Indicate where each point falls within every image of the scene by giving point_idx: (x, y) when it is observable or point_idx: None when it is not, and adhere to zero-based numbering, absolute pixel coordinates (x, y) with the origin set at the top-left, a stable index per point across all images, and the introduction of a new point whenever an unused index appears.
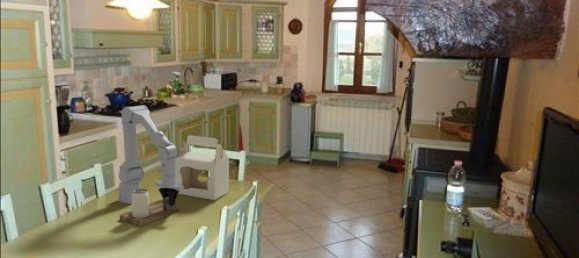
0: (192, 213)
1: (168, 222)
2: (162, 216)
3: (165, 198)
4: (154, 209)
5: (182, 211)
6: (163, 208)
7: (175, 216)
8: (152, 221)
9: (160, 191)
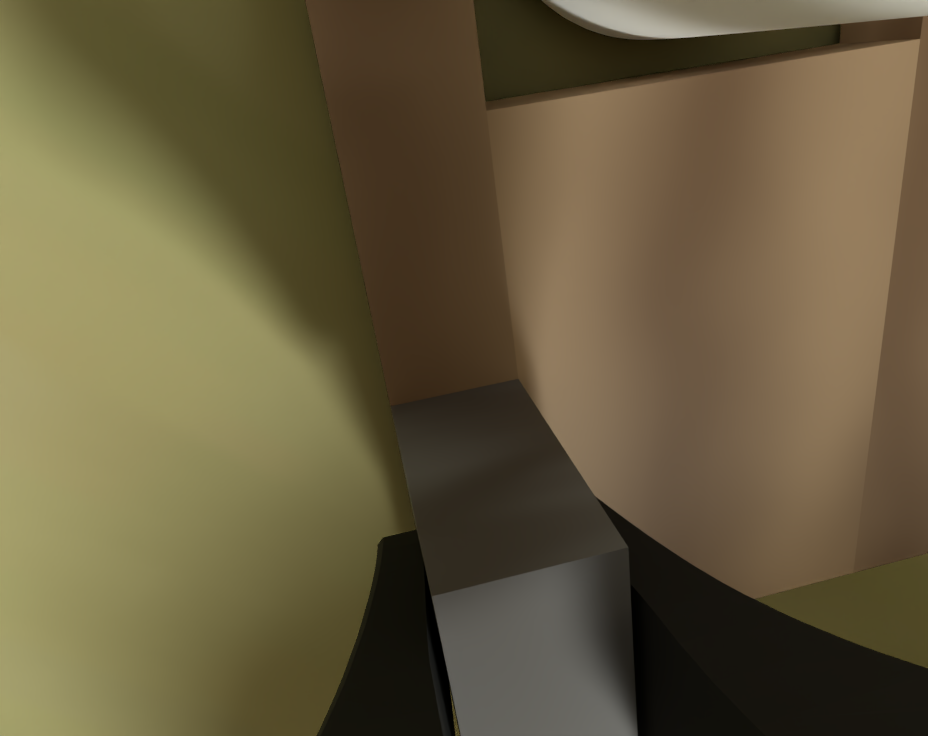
0: (185, 707)
1: (19, 172)
2: (355, 239)
3: (552, 599)
4: (677, 254)
5: None
6: (513, 395)
7: (253, 453)
8: None
9: (905, 711)
